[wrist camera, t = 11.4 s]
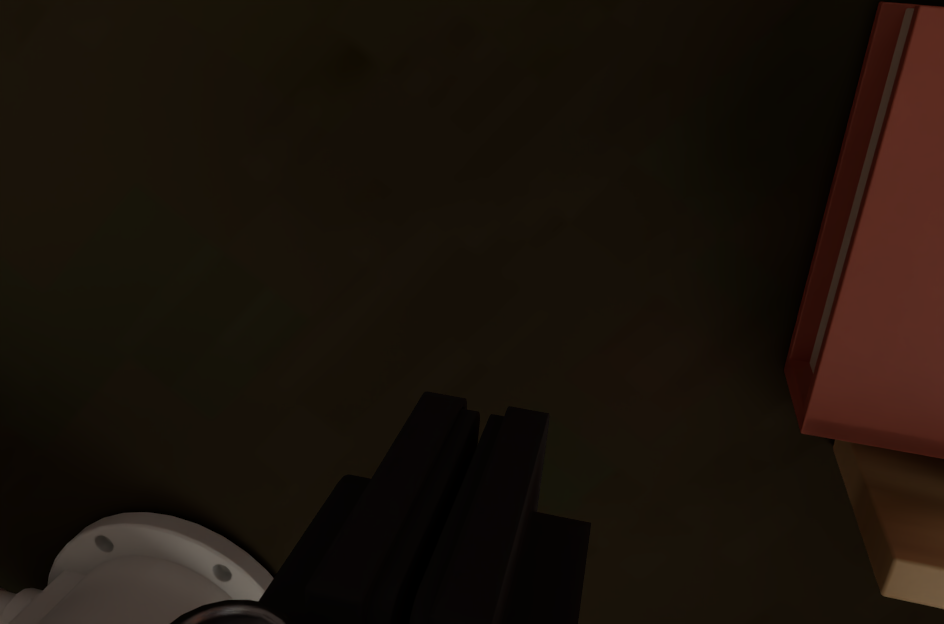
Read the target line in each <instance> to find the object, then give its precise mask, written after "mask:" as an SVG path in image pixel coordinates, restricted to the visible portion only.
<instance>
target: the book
mask: <svg viewBox="0 0 944 624" xmlns="http://www.w3.org/2000/svg"><path fill="white" fill-rule="evenodd" d="M784 373H785V376H786V380H787V383H788V387H789V391H790V395H791V398H792V402H793V406H794V409H795V413H796V417H797V420H798V424H799V429H800V432H801V433H802V434H808V435H813V436H819V437H825V438H830V439H836V440H841V441H847V442H852V443H858V444H863V445H869V446H874V447H880V448H886V449H891V450H897V451H902V452H908V453H913V454H919V455H924V456H930V457H935V458H941V459H944V7H942V6H930V5H918V4H906V3H893V2H879V4H878V8H877V12H876V15H875V19H874V23H873V27H872V31H871V35H870V39H869V42H868V46H867V50H866V54H865V58H864V62H863V66H862V69H861V73H860V77H859V81H858V85H857V89H856V92H855V96H854V100H853V104H852V108H851V112H850V116H849V119H848V123H847V127H846V131H845V135H844V139H843V143H842V146H841V150H840V154H839V158H838V162H837V166H836V170H835V173H834V177H833V181H832V185H831V189H830V193H829V197H828V200H827V204H826V208H825V212H824V216H823V220H822V224H821V227H820V231H819V235H818V239H817V243H816V247H815V251H814V254H813V258H812V262H811V266H810V270H809V274H808V277H807V281H806V285H805V289H804V293H803V297H802V301H801V304H800V308H799V312H798V316H797V320H796V324H795V328H794V331H793V335H792V339H791V343H790V347H789V351H788V355H787V358H786V362H785V366H784Z"/></svg>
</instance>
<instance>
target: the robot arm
mask: <svg viewBox="0 0 944 624" xmlns="http://www.w3.org/2000/svg"><path fill="white" fill-rule="evenodd" d="M479 422H480V414H479V412H477V411H472V410H467V401H466V399H465V398H460V397H454V396H448V395H443V394H437V393H432V392H424V394H423V395H422V397H421V398H420V400H419V401H418V403H417V405H416V406H415V408H414V410H413V411H412V413H411V415H410V416H409V418H408V420H407V421H406V423H405V424H404V426H403V428H402V429H401V431H400V433H399V434H398V436H397V438H396V439H395V441H394V443H393V444H392V446H391V447H390V449H389V451H388V452H387V454H386V456H385V457H384V459H383V461H382V462H381V464H380V466H379V467H378V469H377V470H376V472H375V474H374V475H373V477H372V479H369V478H364V477H359V476H354V475H346V476H344V477H343V478H342V479H341V480H340V481H339V482H338V484H337V485H336V487H335V488H334V490H333V491H332V493H331V494H330V496H329V497H328V498H327V500H326V501H325V503H324V504H323V506H322V507H321V509H320V510H319V512H318V513H317V515H316V516H315V518H314V519H313V521H312V522H311V524H310V525H309V527H308V528H307V530H306V531H305V533H304V534H303V536H302V537H301V539H300V540H299V542H298V543H297V545H296V546H295V547H294V549H293V550H292V552H291V553H290V555H289V556H288V558H287V559H286V561H285V562H284V564H283V565H282V567H281V568H280V570H279V571H278V573H277V574H276V576H275V577H274V578H273V577H272V576H271V574H270V573H269V572H268V571H267V570H266V569H265V568H264V567H263V566H262V565H261V564H259V563H258V562H257V561H256V560H255V559H254V558H253V557H252V556H250V555H249V554H248V553H247V552H246V551H244V550H243V549H241V548H240V547H238V546H237V545H235V544H234V543H232V542H231V541H230V540H228V539H227V538H225V537H224V536H222V535H220V534H218V533H215V532H213V531H211V530H209V529H207V528H205V527H203V526H201V525H199V524H196V523H193V522H190V521H187V520H184V519H181V518H177V517H174V516H170V515H164V514H157V513H150V512H132V513H121V514H117V515H113V516H109V517H105V518H102V519H100V520H98V521H96V522H94V523H93V524H91V525H89V526H87V527H85V528H84V529H83V530H82V531H81V532H80V533H79V534H78V535H76V536H75V537H74V538H73V539H72V540H71V541H70V542H68V543H67V544H66V545H65V547H64V548H63V549H62V551H61V552H60V553H59V554H58V556H57V557H56V558H55V561H54V563H53V566H52V568H51V571H50V573H49V577H48V586H47V587H46V588H45V589H44V590H39V589H35V588H27V589H23V590H22V591H20V592H19V593H17V594H15V593H12V592H8V591H5V589H3V588H1V587H0V624H578V618H579V611H580V603H581V595H582V588H583V580H584V573H585V565H586V558H587V550H588V543H589V535H590V527H591V523H589V522H584V521H579V520H574V519H569V518H564V517H559V516H554V515H549V514H544V513H539V512H537V507H538V499H539V492H540V484H541V477H542V470H543V462H544V455H545V447H546V440H547V433H548V425H549V413H544V412H538V411H532V410H527V409H521V408H516V407H510V406H509V407H508V408H507V411H506V413H505V416H499V415H494V414H491V415H490V417H489V419H488V422H487V424H486V426H485V429H484V431H483V434H482V436H481V439H480V441H479V443H478V433H479ZM477 443H478V446H477Z"/></svg>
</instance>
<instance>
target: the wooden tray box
mask: <svg viewBox="0 0 944 624" xmlns="http://www.w3.org/2000/svg"><path fill="white" fill-rule="evenodd" d="M833 451H834V454H835V457H836V460H837V463H838V466H839V469H840V472H841V475H842V478H843V481H844V484H845V487H846V490H847V493H848V496H849V499H850V502H851V505H852V508H853V511H854V514H855V517H856V520H857V523H858V526H859V529H860V532H861V535H862V538H863V541H864V544H865V547H866V550H867V553H868V556H869V559H870V562H871V565H872V569H873V572H874V575H875V578H876V581H877V584H878V587H879V590H880V593H881V594H882V595H883V596H885V597H890V598H895V599H899V600H904V601H908V602H913V603H918V604H922V605H927V606H932V607H936V608H941V609H944V459H941V458H935V457H930V456H924V455H919V454H913V453H908V452H902V451H897V450H891V449H886V448H880V447H874V446H869V445H863V444H858V443H852V442H847V441H841V440H836V439H835V443H834V446H833Z"/></svg>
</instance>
